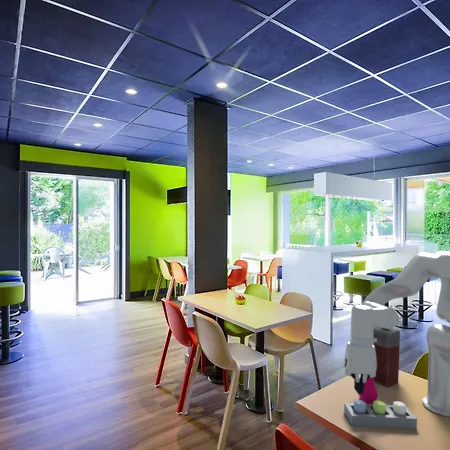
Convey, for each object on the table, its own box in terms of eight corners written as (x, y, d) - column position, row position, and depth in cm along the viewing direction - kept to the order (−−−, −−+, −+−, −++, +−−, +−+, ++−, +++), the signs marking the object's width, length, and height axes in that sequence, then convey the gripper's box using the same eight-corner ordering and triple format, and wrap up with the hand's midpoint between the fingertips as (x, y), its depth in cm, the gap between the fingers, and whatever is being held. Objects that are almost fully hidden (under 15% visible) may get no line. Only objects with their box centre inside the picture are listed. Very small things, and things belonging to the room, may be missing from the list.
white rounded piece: (402, 412, 118) (402, 401, 118) (407, 419, 114) (408, 407, 114) (390, 412, 119) (391, 401, 118) (396, 418, 115) (396, 407, 114)
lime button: (382, 411, 119) (382, 400, 119) (387, 418, 115) (387, 407, 115) (371, 411, 119) (371, 400, 119) (375, 417, 115) (376, 406, 115)
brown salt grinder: (401, 381, 147) (403, 318, 146) (387, 387, 140) (389, 322, 140) (382, 373, 154) (384, 313, 154) (368, 378, 148) (370, 317, 148)
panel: (404, 415, 120) (404, 405, 120) (416, 428, 112) (417, 418, 112) (344, 412, 121) (344, 402, 121) (351, 425, 113) (352, 415, 113)
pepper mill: (379, 411, 122) (381, 357, 122) (359, 408, 124) (361, 355, 124) (375, 400, 130) (376, 350, 129) (355, 398, 131) (357, 348, 131)
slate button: (362, 410, 119) (363, 399, 119) (367, 417, 115) (367, 406, 115) (351, 410, 119) (352, 399, 119) (355, 416, 115) (356, 405, 115)
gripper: (378, 338, 120) (375, 388, 120) (336, 335, 120) (334, 385, 121) (387, 345, 113) (385, 399, 113) (343, 343, 113) (341, 396, 113)
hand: (359, 391), depth 117 cm, fingers closed
